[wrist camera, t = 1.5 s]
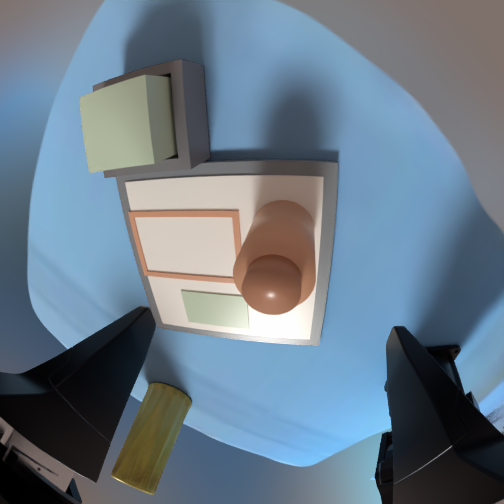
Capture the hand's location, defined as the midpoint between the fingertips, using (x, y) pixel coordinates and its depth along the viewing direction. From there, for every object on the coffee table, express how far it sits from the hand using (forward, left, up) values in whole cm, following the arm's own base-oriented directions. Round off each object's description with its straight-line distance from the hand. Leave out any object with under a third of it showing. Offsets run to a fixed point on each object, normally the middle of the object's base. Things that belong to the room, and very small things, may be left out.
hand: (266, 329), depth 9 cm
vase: (+14, +24, -9) cm, 29 cm away
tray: (+4, +3, -9) cm, 10 cm away
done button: (+7, -7, -7) cm, 12 cm away
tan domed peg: (0, 0, -8) cm, 8 cm away
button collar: (+7, -7, -9) cm, 13 cm away
